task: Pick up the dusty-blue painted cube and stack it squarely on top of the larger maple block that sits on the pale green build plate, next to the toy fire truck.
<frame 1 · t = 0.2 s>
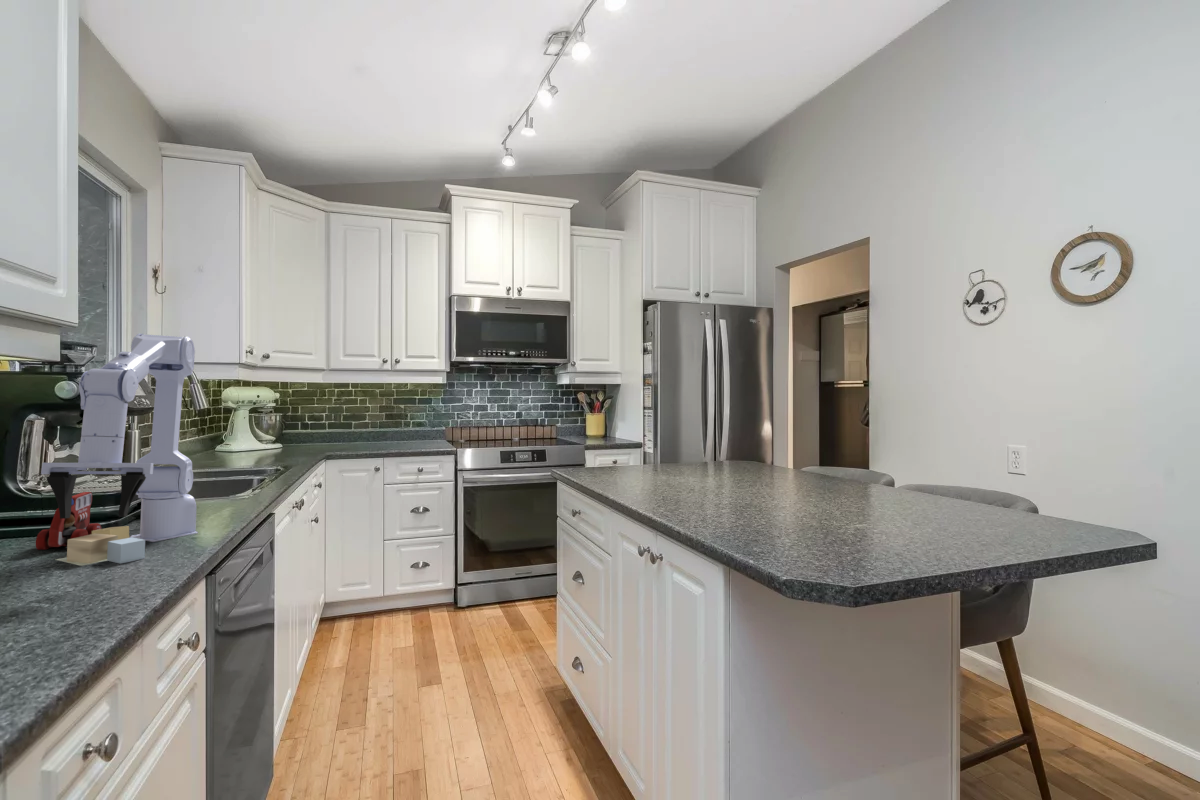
hand: (94, 517, 98), 10 cm above the countertop, tool pointing down, fingers open, 7 cm apart
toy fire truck: (69, 547, 117), on the countertop
ochre block: (111, 548, 115), on the countertop, tilted 8°, touching build plate
maple block: (92, 558, 108), resting on build plate
blue block: (125, 562, 109), on the countertop
build plate: (100, 558, 110), on the countertop
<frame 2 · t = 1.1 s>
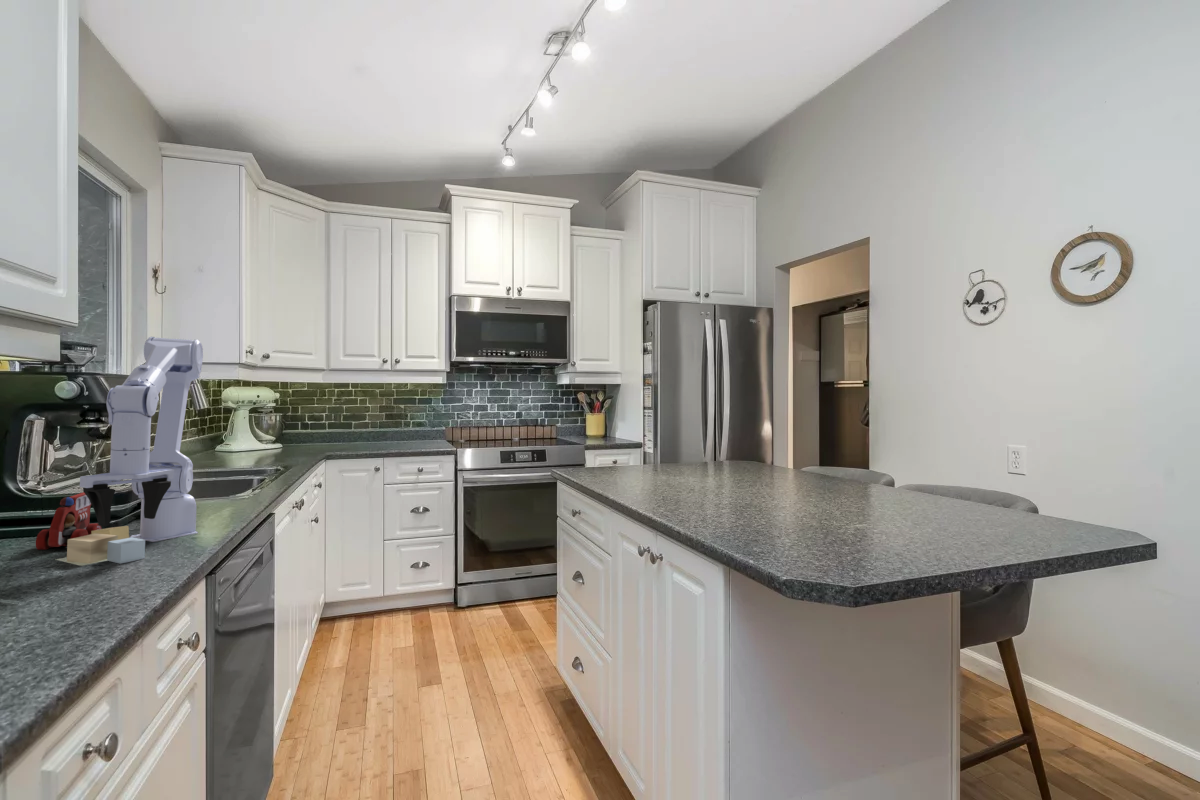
hand: (127, 521, 109), 7 cm above the countertop, tool pointing down, fingers open, 7 cm apart
ochre block: (111, 548, 115), on the countertop, tilted 9°, touching build plate
everything else where it was.
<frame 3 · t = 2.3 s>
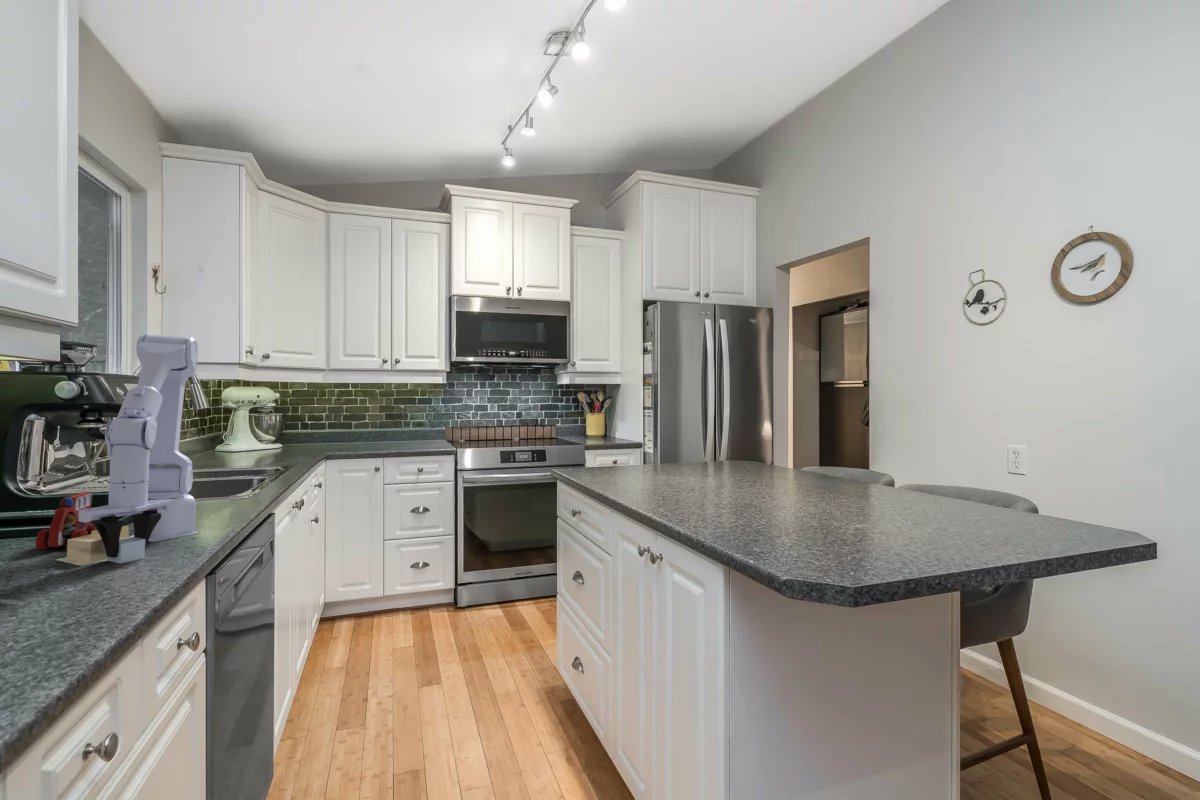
hand: (126, 553, 109), 1 cm above the countertop, tool pointing down, fingers closed on blue block, 4 cm apart
blue block: (125, 561, 109), on the countertop, touching gripper
everything else where it was.
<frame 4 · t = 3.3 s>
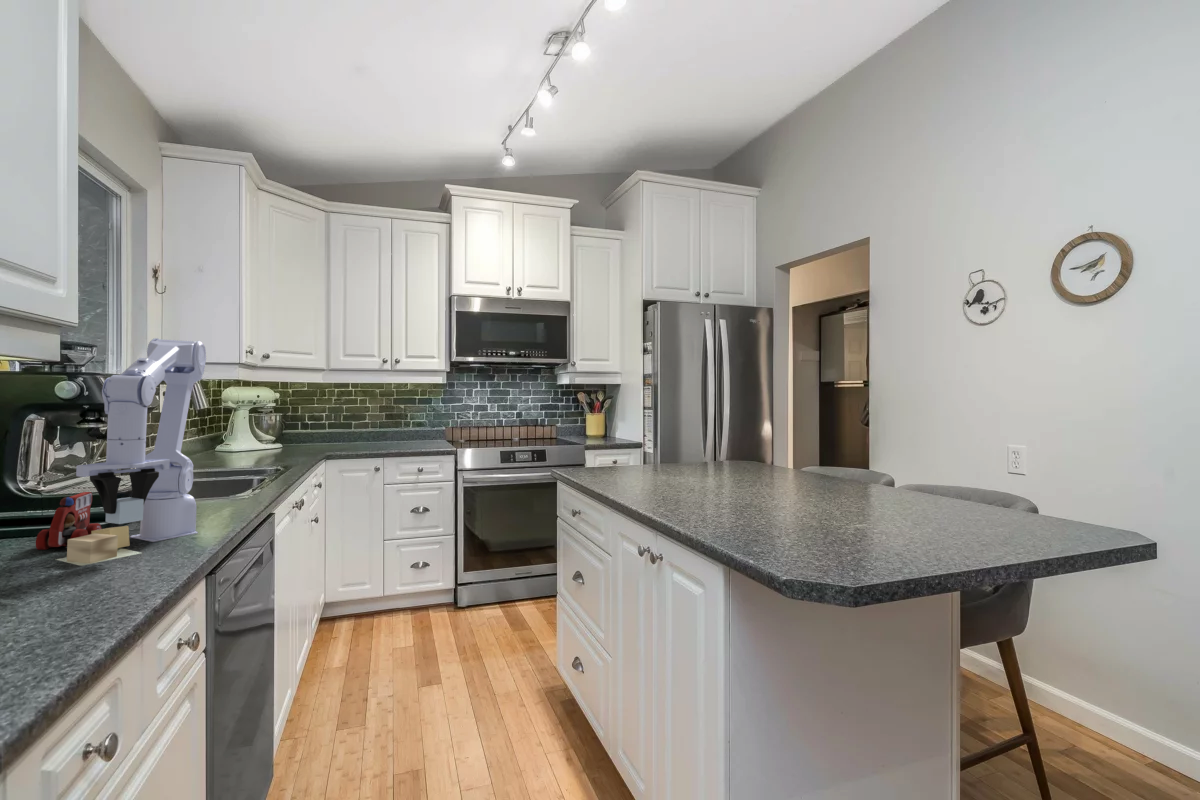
hand: (123, 511, 109), 9 cm above the countertop, tool pointing down, fingers closed on blue block, 4 cm apart
blue block: (124, 521, 109), point 7 cm above the countertop, touching gripper
everything else where it was.
when the fingers open (7 cm above the countertop, at t = 4.4 s): blue block stays where it is, resting on maple block.
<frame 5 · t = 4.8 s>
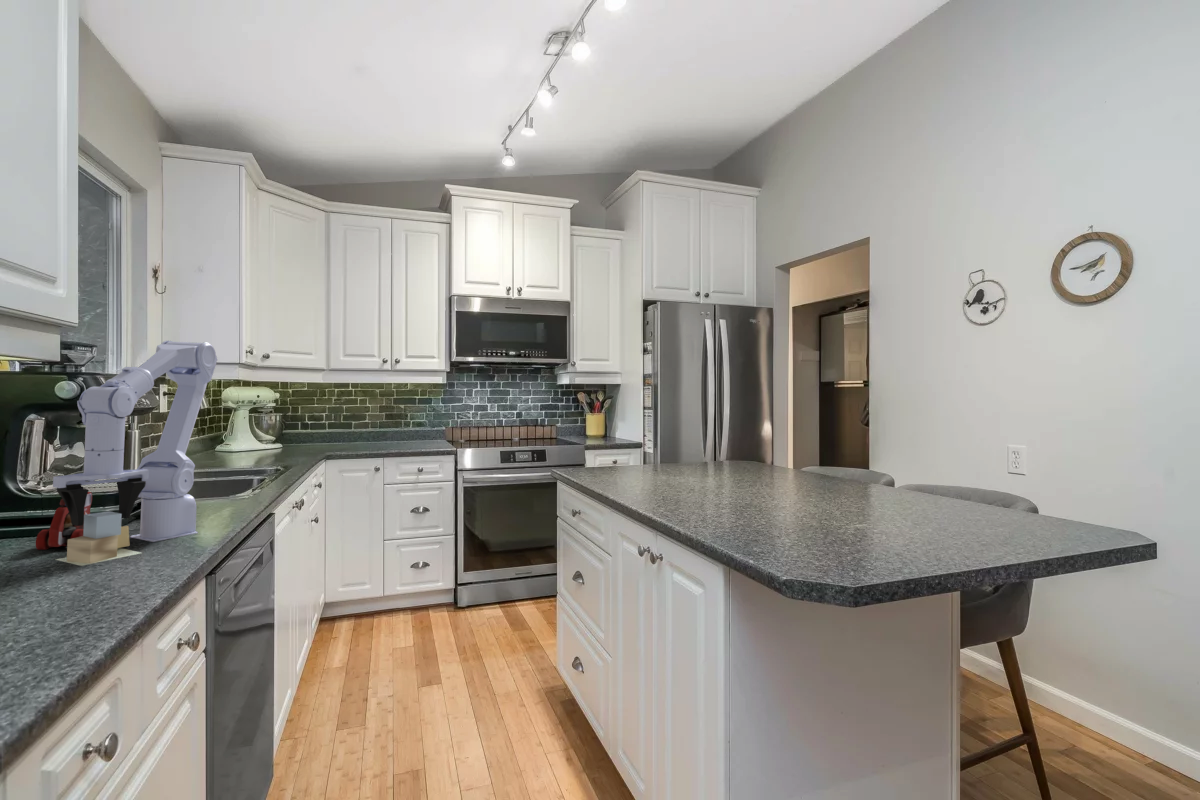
hand: (101, 521, 110), 7 cm above the countertop, tool pointing down, fingers open, 7 cm apart
maple block: (92, 558, 108), resting on build plate, touching blue block
blue block: (102, 535, 110), point 4 cm above the countertop, touching maple block
everything else where it was.
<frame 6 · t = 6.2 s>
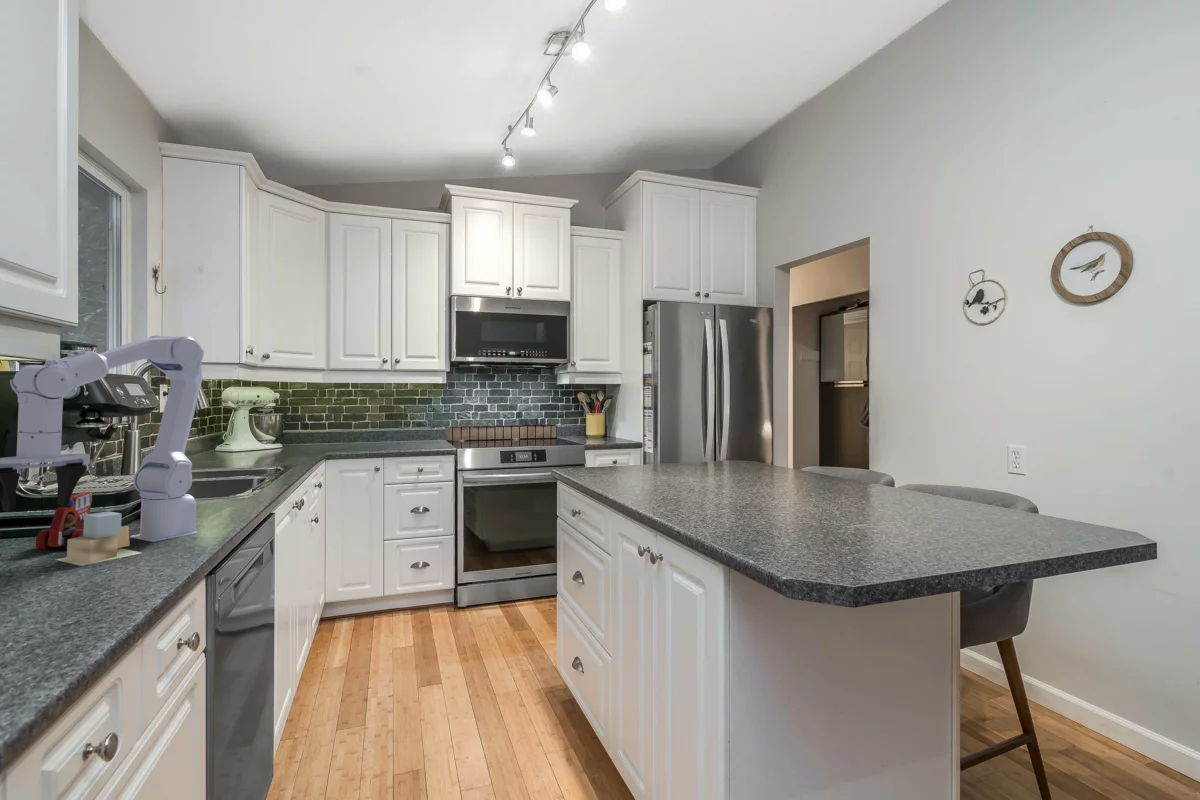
hand: (36, 507, 104), 10 cm above the countertop, tool pointing down, fingers open, 7 cm apart
nothing on the countertop moved.
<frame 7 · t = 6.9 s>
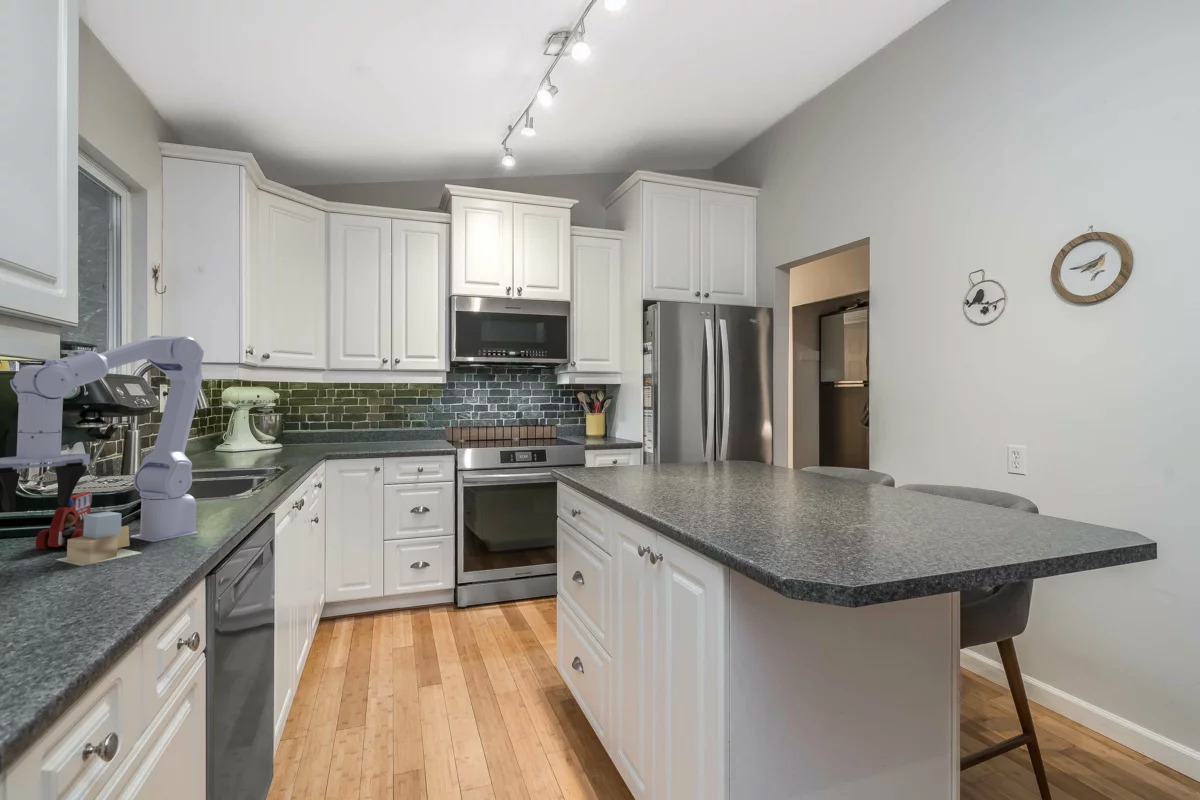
hand: (36, 507, 104), 10 cm above the countertop, tool pointing down, fingers open, 7 cm apart
nothing on the countertop moved.
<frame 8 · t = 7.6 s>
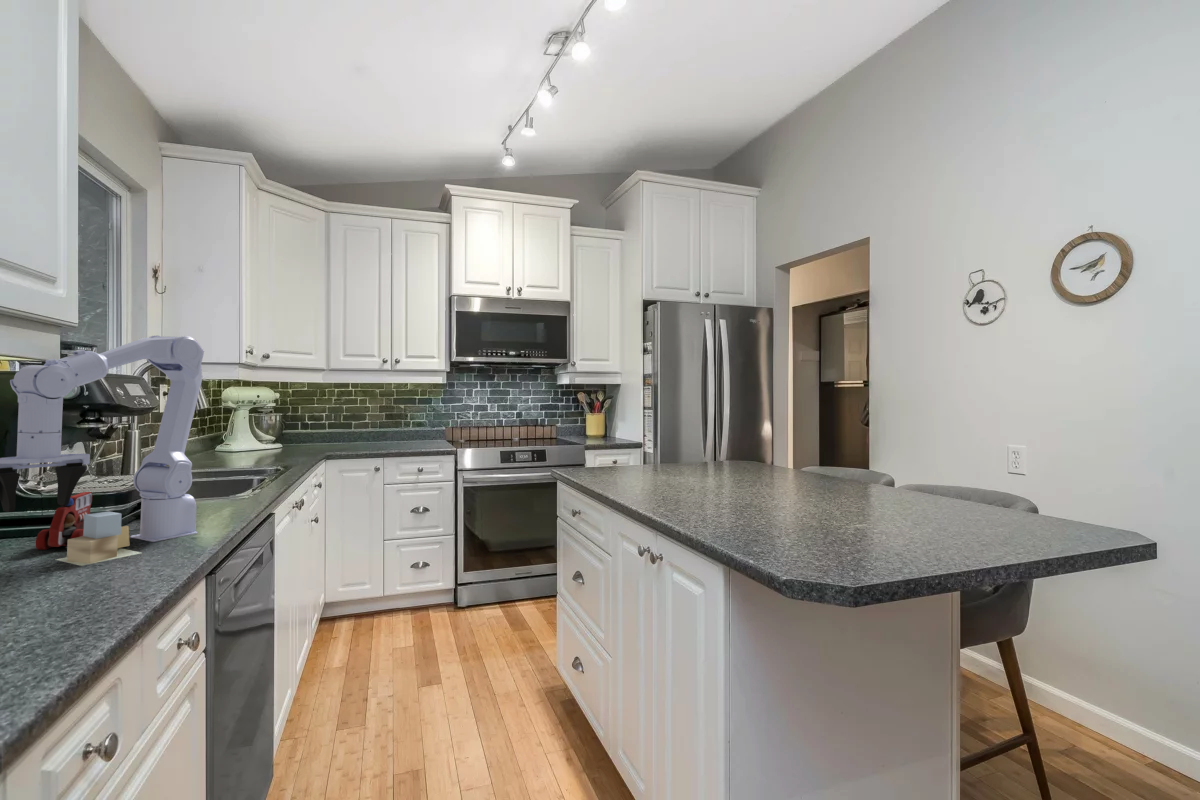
hand: (36, 507, 104), 10 cm above the countertop, tool pointing down, fingers open, 7 cm apart
nothing on the countertop moved.
at the end: blue block 1.8 cm off-centre on the maple block, point 4.0 cm above the maple block's base; blue block tilted 0°; the gripper is holding nothing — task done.
